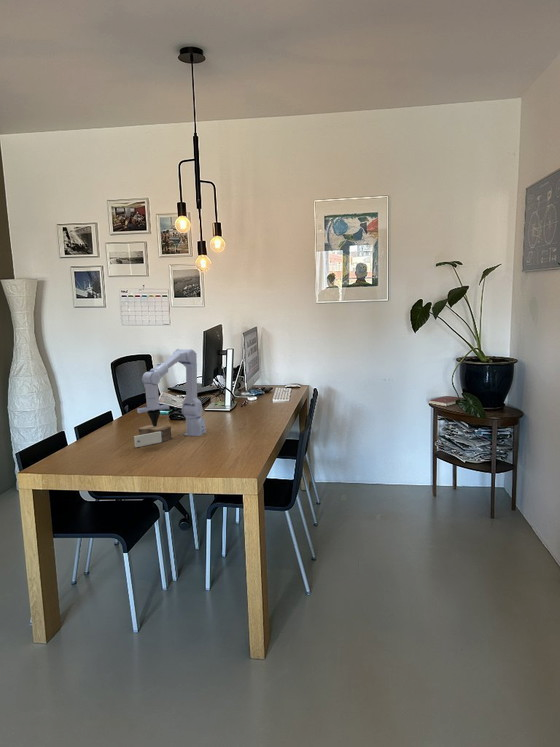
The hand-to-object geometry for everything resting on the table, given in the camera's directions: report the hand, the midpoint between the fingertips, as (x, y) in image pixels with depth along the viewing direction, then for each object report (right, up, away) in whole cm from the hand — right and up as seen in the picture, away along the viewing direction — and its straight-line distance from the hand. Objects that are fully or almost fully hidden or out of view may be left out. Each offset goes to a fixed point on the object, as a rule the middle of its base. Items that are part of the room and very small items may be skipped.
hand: (154, 426), depth 244 cm
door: (-4, -9, +6) cm, 12 cm away
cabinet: (-4, -8, +17) cm, 19 cm away
